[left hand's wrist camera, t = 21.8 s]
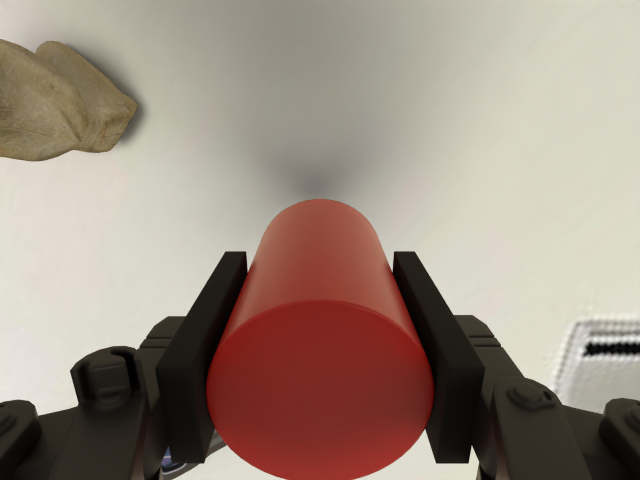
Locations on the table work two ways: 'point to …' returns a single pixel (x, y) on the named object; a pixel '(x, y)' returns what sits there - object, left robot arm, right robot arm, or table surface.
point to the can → (320, 353)
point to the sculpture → (57, 104)
